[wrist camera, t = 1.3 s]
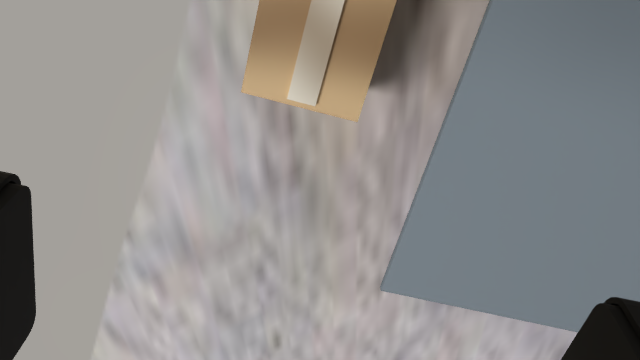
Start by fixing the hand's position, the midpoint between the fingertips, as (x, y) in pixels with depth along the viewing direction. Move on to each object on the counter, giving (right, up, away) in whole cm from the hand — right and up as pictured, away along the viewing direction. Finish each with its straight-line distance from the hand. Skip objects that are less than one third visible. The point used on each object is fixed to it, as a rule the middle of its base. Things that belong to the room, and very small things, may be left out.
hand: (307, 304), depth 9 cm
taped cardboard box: (0, +10, +16) cm, 19 cm away
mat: (+14, +3, +19) cm, 24 cm away
